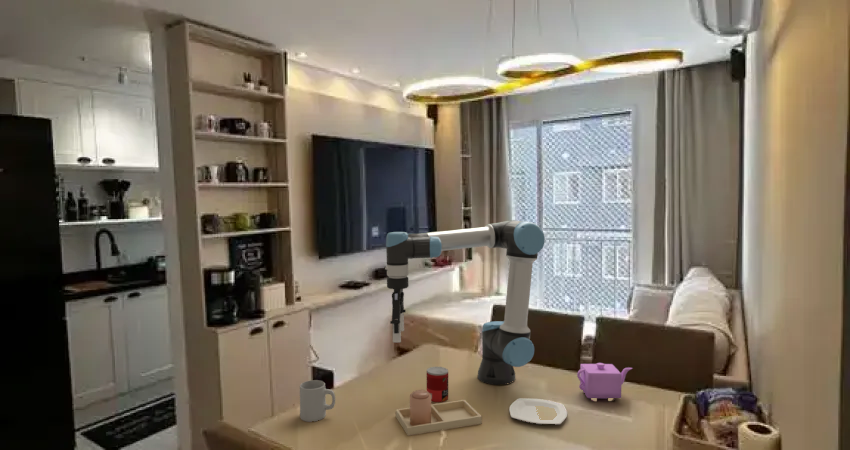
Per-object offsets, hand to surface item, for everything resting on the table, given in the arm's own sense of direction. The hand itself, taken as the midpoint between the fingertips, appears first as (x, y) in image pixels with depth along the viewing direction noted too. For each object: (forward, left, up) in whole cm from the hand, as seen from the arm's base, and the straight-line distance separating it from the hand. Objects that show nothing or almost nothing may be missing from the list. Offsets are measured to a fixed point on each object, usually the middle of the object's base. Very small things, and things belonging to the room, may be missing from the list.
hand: (398, 336), depth 177 cm
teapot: (-74, +17, -25) cm, 80 cm away
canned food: (-15, -1, -25) cm, 29 cm away
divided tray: (-9, +16, -25) cm, 31 cm away
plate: (-43, +22, -26) cm, 55 cm away
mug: (+28, -1, -25) cm, 38 cm away
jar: (-3, +16, -25) cm, 29 cm away
